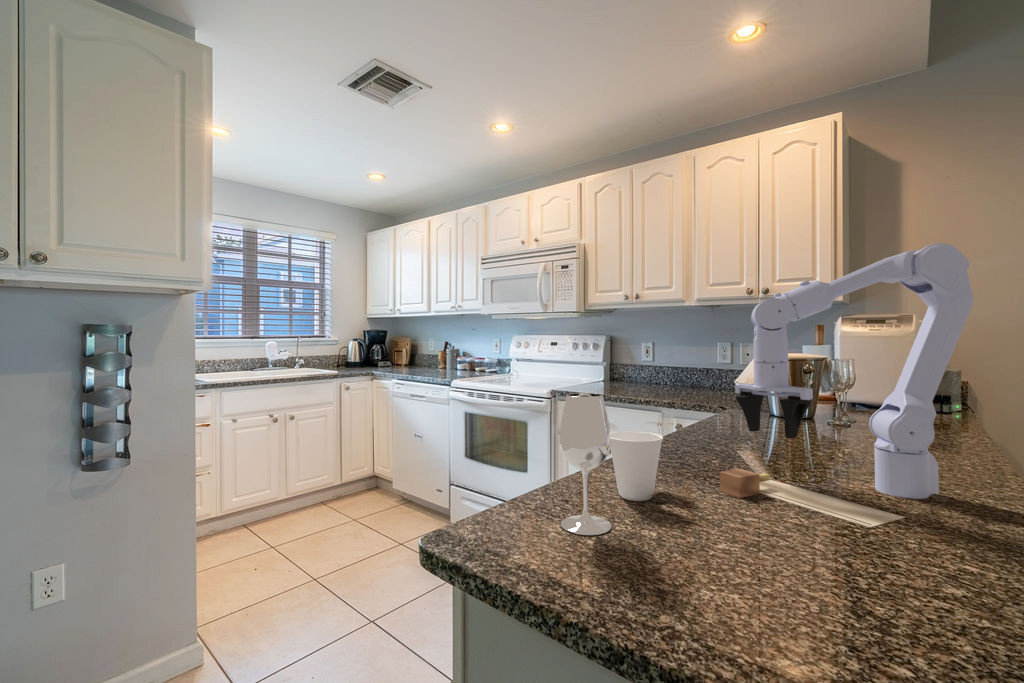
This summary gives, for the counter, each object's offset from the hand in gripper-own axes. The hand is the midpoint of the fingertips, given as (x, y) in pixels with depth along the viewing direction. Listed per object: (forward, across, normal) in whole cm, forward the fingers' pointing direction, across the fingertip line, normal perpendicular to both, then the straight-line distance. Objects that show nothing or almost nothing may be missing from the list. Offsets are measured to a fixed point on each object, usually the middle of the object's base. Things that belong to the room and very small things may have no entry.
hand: (772, 434), depth 88 cm
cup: (+11, -8, -26) cm, 29 cm away
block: (+10, +2, -9) cm, 14 cm away
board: (+10, +10, -4) cm, 15 cm away
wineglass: (+11, 0, -42) cm, 43 cm away
